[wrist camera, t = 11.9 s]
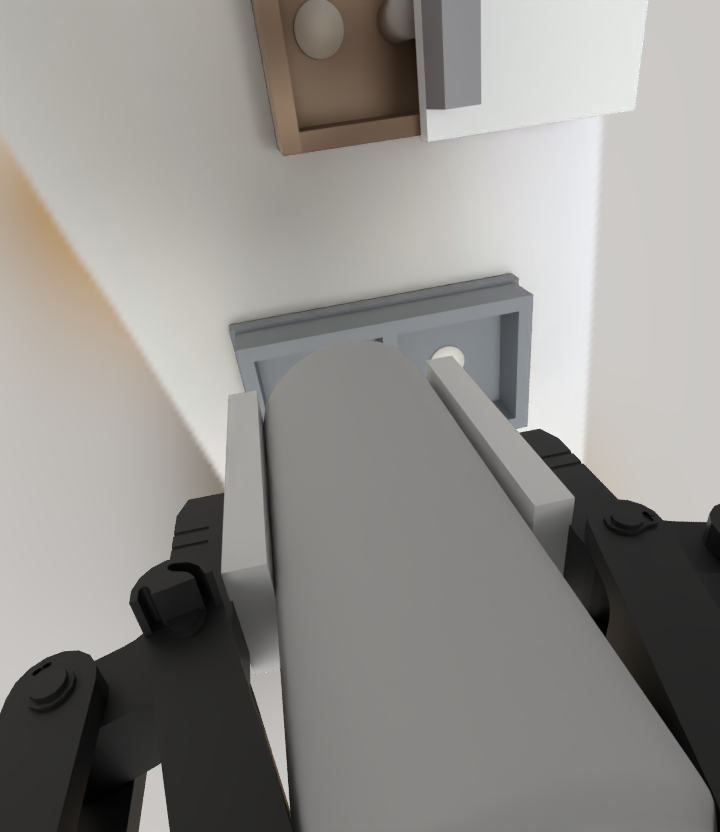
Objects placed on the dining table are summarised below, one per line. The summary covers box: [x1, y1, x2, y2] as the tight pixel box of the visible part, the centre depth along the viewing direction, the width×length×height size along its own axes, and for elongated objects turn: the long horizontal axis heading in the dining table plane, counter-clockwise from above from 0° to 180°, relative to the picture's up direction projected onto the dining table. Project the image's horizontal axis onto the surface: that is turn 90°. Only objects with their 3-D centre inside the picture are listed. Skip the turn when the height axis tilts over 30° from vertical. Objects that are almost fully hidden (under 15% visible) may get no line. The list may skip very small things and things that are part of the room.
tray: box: [251, 0, 421, 156], centre depth 23 cm, size 9×9×4 cm
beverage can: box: [263, 339, 718, 832], centre depth 10 cm, size 5×5×12 cm
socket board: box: [229, 274, 533, 429], centre depth 32 cm, size 9×17×4 cm, turn 97°
